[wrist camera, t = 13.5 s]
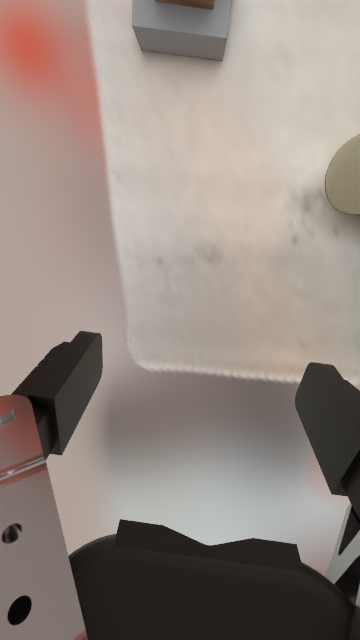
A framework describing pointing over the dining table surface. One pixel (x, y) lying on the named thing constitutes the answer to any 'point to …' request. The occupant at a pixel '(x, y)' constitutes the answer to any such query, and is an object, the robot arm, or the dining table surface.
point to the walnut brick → (191, 3)
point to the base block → (182, 28)
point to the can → (345, 178)
